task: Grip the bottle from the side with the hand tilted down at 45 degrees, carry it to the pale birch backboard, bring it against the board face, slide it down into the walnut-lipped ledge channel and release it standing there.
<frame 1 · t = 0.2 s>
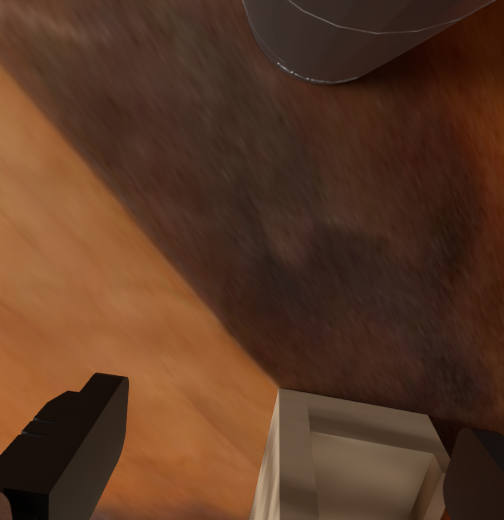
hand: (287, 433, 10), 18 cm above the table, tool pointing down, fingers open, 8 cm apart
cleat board: (263, 512, 34), on the table
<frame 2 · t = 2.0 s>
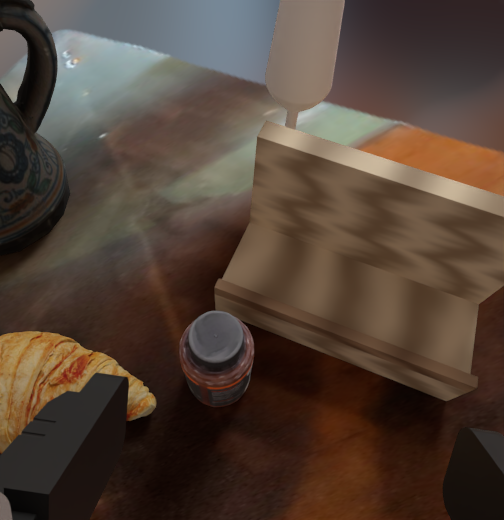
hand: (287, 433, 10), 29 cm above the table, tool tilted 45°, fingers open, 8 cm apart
croissant: (45, 397, 38), on the table
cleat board: (351, 272, 46), on the table
supplement bottle: (218, 376, 40), on the table
beer stein: (9, 192, 49), on the table
champagne flute: (282, 170, 53), on the table
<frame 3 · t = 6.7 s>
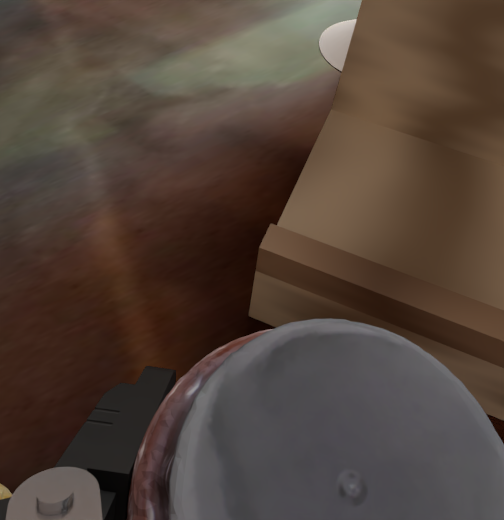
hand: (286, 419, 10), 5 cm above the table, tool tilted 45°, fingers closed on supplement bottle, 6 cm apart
supplement bottle: (261, 498, 14), on the table, touching gripper
champagne flute: (367, 51, 28), on the table
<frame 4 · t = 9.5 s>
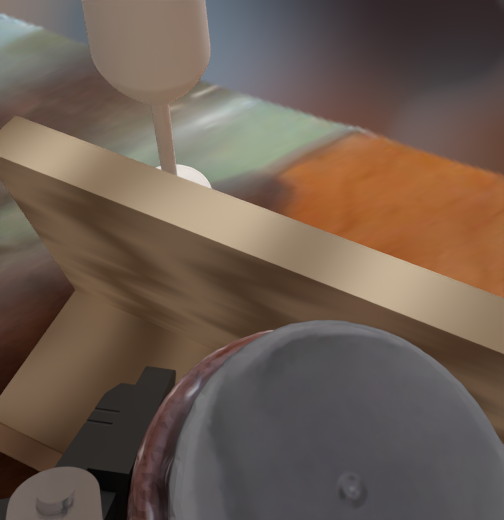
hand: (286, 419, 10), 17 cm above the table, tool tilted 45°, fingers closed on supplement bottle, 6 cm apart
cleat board: (255, 369, 28), on the table
supplement bottle: (261, 499, 14), point 11 cm above the table, touching gripper
champagne flute: (172, 195, 35), on the table
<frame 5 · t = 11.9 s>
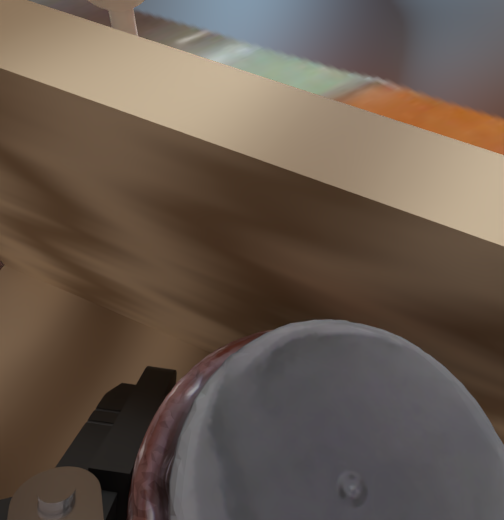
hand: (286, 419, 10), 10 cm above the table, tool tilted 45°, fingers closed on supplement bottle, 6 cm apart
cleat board: (251, 372, 21), on the table
supplement bottle: (261, 498, 14), point 5 cm above the table, touching gripper
champagne flute: (149, 154, 28), on the table
when the fingers open (10 cm above the table, at t = 12.1 s): supplement bottle stays where it is, resting on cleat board.
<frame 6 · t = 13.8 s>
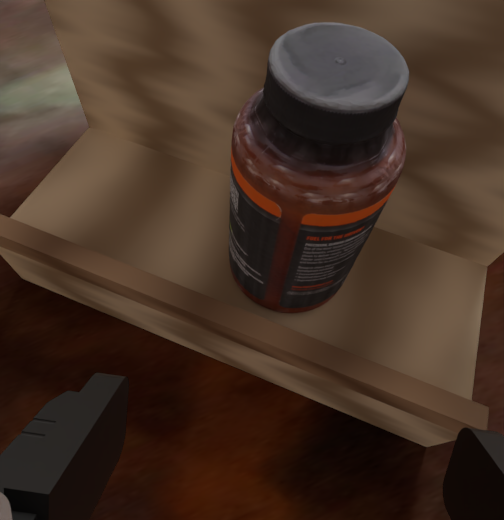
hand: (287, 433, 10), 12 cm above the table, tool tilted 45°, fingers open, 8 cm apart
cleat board: (273, 219, 27), on the table
supplement bottle: (285, 265, 21), point 4 cm above the table, touching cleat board
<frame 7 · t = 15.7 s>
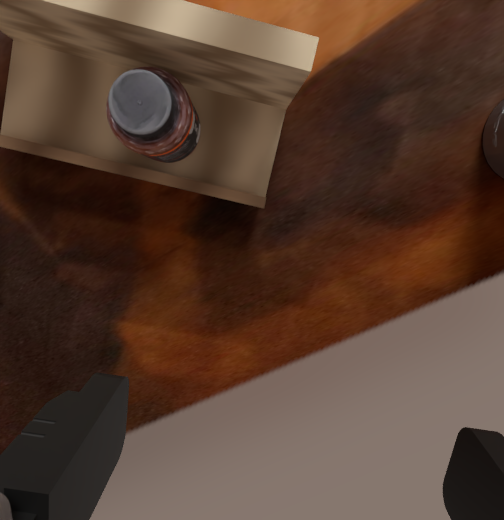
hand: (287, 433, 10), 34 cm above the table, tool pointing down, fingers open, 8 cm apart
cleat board: (163, 76, 40), on the table
supplement bottle: (168, 129, 37), point 4 cm above the table, touching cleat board
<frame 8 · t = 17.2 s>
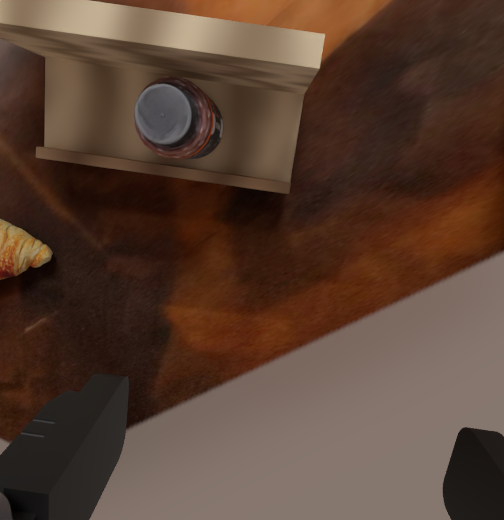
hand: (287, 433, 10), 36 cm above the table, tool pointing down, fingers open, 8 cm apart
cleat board: (184, 72, 42), on the table
supplement bottle: (193, 126, 39), point 4 cm above the table, touching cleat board
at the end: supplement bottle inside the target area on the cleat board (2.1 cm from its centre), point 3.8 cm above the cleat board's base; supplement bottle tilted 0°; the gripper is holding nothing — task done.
